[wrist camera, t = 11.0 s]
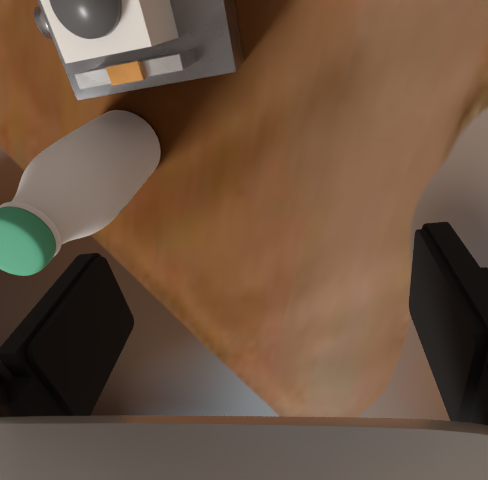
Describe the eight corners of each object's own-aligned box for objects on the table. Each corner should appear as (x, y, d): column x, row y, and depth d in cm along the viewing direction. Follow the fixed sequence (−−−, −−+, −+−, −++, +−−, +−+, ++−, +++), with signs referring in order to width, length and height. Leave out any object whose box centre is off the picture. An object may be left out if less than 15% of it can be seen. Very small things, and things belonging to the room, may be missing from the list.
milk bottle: (95, 97, 37) (-66, 176, 20) (168, 122, 37) (69, 218, 21) (90, 165, 41) (-46, 276, 25) (156, 186, 42) (66, 309, 25)
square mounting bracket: (216, -113, 27) (180, -168, 18) (244, 61, 34) (227, 82, 25) (31, -61, 30) (-76, -87, 21) (89, 89, 37) (24, 117, 28)
